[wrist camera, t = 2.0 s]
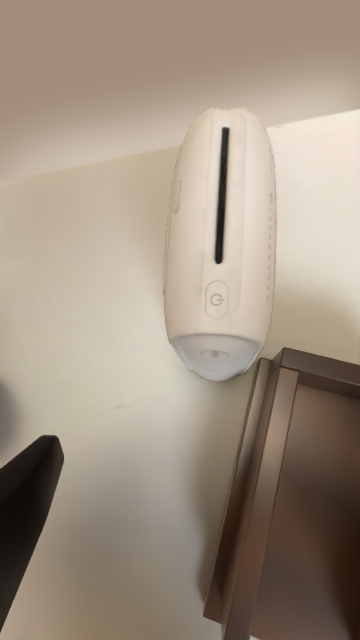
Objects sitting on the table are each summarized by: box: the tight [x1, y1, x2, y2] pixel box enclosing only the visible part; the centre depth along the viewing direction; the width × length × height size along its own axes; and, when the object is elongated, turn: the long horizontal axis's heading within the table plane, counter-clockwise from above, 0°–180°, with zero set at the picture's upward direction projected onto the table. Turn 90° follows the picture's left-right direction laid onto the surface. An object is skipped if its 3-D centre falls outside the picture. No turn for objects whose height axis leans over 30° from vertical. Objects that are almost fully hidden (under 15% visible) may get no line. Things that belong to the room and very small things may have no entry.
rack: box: [203, 347, 360, 640], centre depth 17 cm, size 14×9×5 cm, turn 164°
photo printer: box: [163, 107, 276, 381], centre depth 17 cm, size 10×4×12 cm, turn 175°
